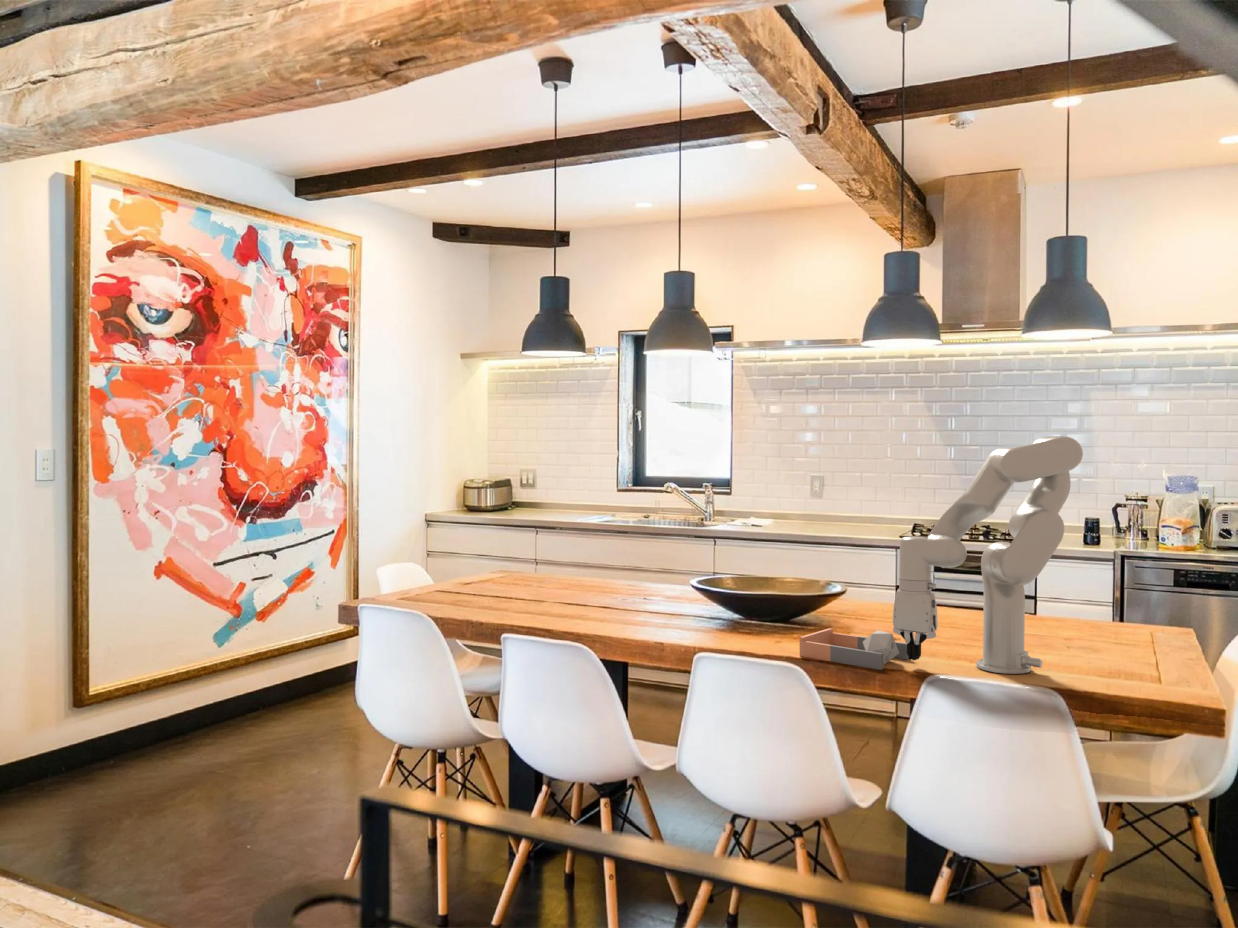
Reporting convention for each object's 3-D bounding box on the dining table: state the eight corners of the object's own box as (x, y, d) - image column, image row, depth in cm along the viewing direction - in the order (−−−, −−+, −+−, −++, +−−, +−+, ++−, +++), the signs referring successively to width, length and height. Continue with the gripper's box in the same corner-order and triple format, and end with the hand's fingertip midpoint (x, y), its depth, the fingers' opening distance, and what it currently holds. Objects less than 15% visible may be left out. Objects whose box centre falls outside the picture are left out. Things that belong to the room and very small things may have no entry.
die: (865, 668, 230) (889, 640, 227) (850, 645, 237) (873, 618, 234) (888, 676, 233) (911, 649, 230) (872, 653, 241) (895, 627, 237)
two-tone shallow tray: (908, 659, 237) (908, 640, 237) (881, 670, 225) (881, 650, 225) (829, 646, 252) (829, 628, 252) (799, 655, 240) (799, 637, 240)
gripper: (950, 587, 225) (949, 661, 225) (893, 581, 235) (892, 652, 235) (938, 591, 219) (937, 666, 220) (880, 584, 229) (879, 656, 230)
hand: (913, 658), depth 228 cm, fingers closed
